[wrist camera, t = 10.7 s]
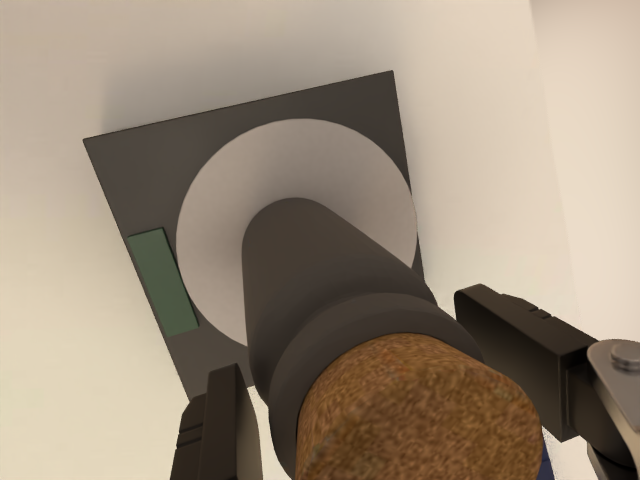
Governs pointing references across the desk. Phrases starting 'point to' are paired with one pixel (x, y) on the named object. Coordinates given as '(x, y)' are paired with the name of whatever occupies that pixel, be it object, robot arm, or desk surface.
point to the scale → (248, 200)
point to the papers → (545, 466)
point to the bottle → (370, 362)
